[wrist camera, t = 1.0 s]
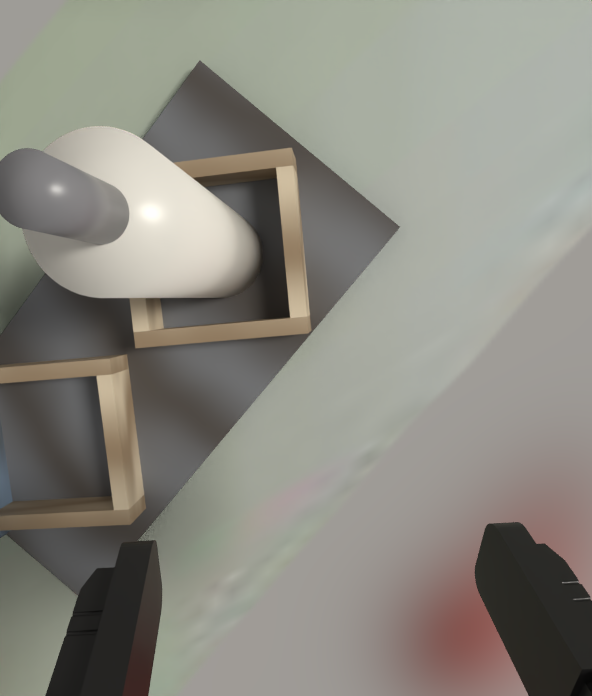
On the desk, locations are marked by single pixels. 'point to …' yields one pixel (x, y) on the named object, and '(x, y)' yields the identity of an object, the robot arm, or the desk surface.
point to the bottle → (125, 220)
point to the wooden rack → (169, 342)
